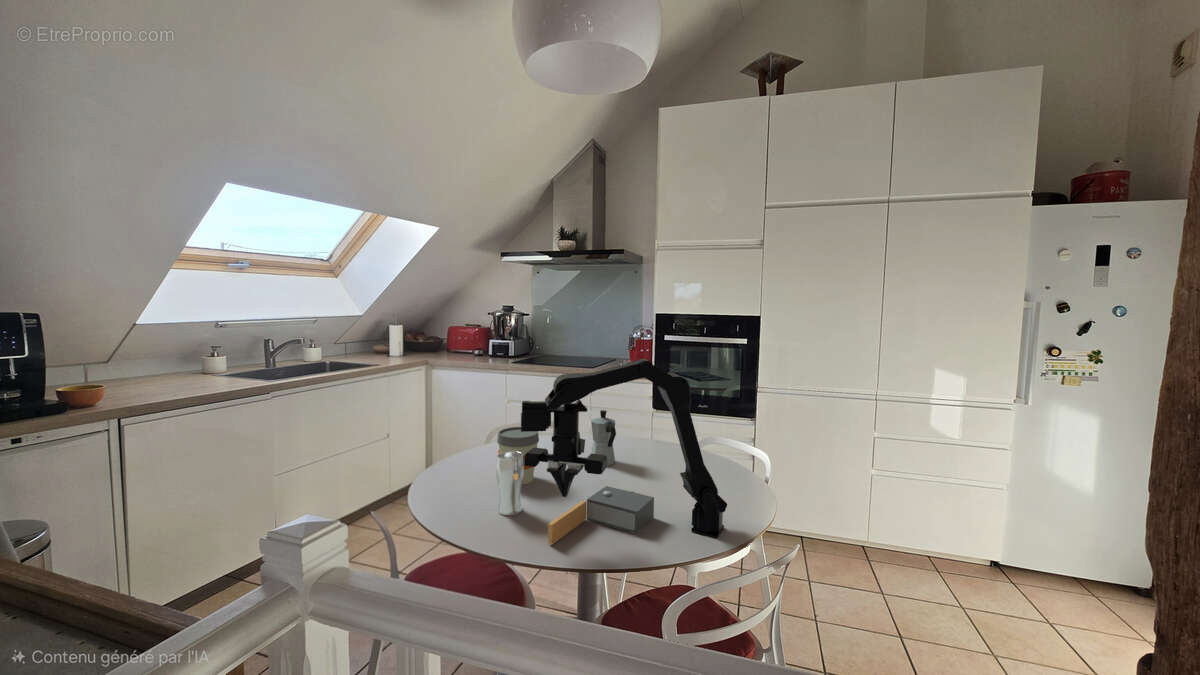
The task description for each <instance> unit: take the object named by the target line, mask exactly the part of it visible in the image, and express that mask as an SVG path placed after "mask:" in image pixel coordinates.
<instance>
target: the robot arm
mask: <svg viewBox="0 0 1200 675" xmlns="http://www.w3.org/2000/svg"><path fill="white" fill-rule="evenodd" d="M640 379H646V380H648V381H649V382H651V383H653V384H654V385H656V386H657V387H658V390H659V392H660V395H661V397H662V399H663V400H664V402H665V404H666V405H667V407H668V410H669V411H670V413H671V417H672V420H673V423H674V427H675V430H676V433H677V434H676V435H677V437H678V442H679V446H680V448H681V449H680V450H681V451H682V456H683V459H684V463H685V471H683V472H679V475H680V477H681V479H682V483H683V485H682V487H683V489H685V491H686V492H687V493H688V495H690V497H691V498H693V500H695V504H694V505H693V506H694V508H692V510H691V526H692V528H691V529H690V531H691V532H692V533H697V534H700V535H703V536H707V537H712V538H715V539H717V538H719V536H720V535H721V533H722V532H723V530H724V529H725V525H724V524H723V516H724V514H723V513H725V512H726V509H727V507H728V503H727V502H726V500H724V499H723V498H722V496H720V495H719V492H718V490H719V489H718V488H717V484H716V483H715V481H714V479H713V477H712V475H711V474H710V472H709V470H708V468H707V466H706V465H705V463H704V459H703V458H704V457H703V455H702V452H701V448H700V445H699V440H698V436H697V434H696V429H695V425H694V422H693V418H692V414H691V410H690V408H691V402H692V401H691V400H692V397H691V388H690V383H689V381H688V380H687V379H686V378H684V377H683V376H680V375H678V374H676V373H674V372H666V371H664V370H663V369H661V368H659V367H657V366H656V365H654V364H653V363H652V362H651V361H650V360H648V359H645V358H639V359H637V360H635V361H632V362H631V361H630V362H627V363H623V364H619V365H616V366H612V367H608V368H603V369H600V370H596V371H593V372H574V373H564V374H559V375H558V376H557V377H556V378H555V380H554V381H553V384H552V386H553V387H552V390H550V392H549V394H548V395H547V396H546V397H545V399H544V401H543V400H542V401H531V400H523V401H521V413H520V427H521V432H532V431H538V432H547V430H548V429H549V427H551V426H552V413H553V434H552V436H551V442H552V444H553V445H552V446H553V447H552V453H549V451H548V449H547V448H544V447H543V448H542V447H541V448H540V447H537V448H532V449H531V450H530V451H528V452H527V453H526V454H525V455H524V458H523V465H524V466H530V467H534V468H536V467H537V466H538V465H540V462H541V463H542V462H543V463H547V468H546V472H547V473H550V474H551V476H552V478H553V480H554V481H555V483H556V485H557V488H558V490H559V492H560V494H561V496H562V498H567V497H568V495H569V492H570V489H571V487H572V484H573V480H574V479H575V477H576V476H578V475H579V474H580V473H581V471H582V470H583V469H584V471H585V472H586V473H587V474H590V475H591V474H592V475H602V474H603V473H605V471H606V469H607V468H608V467H609V466H608V459H607V457H606V456H605V455H601V454H591V453H590V454H589V455H588V456H587V457H581V455H582V454H583V453H584V454H585V448H586V447H585V446H586V439H584V438H581V433H580V431H579V426H580V425H579V424H580V423H579V421H580V420H579V417H580V416H579V415H580V414H579V413H584V412H585V413H587V412H588V408H587V406H586V405H585V404H583V402H582V401H581V400H582V399H583V398H586V397H587V396H589V395H590V394H592V393H594V392H596V391H598V390H602V389H606V388H609V387H613V386H618V385H622V384H624V383H629V382H631V381H632V382H633V381H637V380H640ZM579 456H580V457H579Z"/></svg>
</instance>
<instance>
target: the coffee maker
mask: <svg viewBox="0 0 1200 675" xmlns="http://www.w3.org/2000/svg"><path fill="white" fill-rule="evenodd" d="M607 412H608V411H607V410H605V409H604V410H603V409H602V410H600V411H599V413H600V417H596V418H593V419H590V423H591V432H592V440H593V443H592V447H591V453H590V454H601V455H605V456H606V457H607V459H608V466H607V467H611V466H613V465H614V464H615V463H616V458H615V451H614V441H615V438H616V436H617V430H616V420H615V419H612V418H609V417H607V416H606V415H607Z"/></svg>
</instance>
